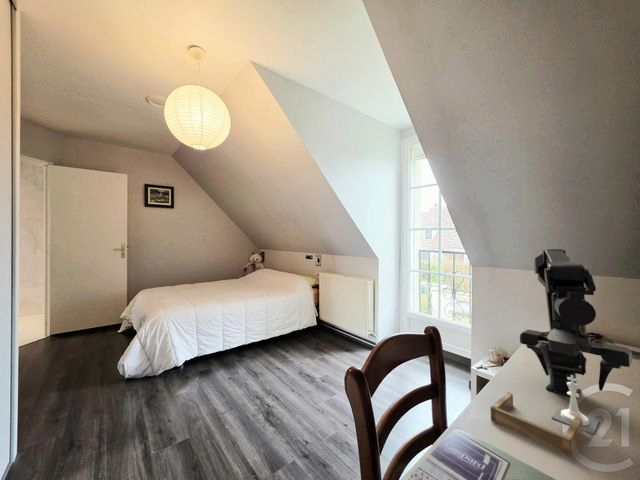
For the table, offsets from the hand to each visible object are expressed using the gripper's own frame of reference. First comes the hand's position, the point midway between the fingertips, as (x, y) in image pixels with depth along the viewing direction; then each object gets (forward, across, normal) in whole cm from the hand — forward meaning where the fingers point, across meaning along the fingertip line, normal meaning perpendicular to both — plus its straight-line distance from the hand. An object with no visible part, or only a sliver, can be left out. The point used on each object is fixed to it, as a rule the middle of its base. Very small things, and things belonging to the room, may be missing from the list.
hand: (572, 382), depth 62 cm
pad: (+9, 0, 0) cm, 9 cm away
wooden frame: (+9, -5, -10) cm, 14 cm away
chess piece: (+9, 0, 0) cm, 9 cm away
